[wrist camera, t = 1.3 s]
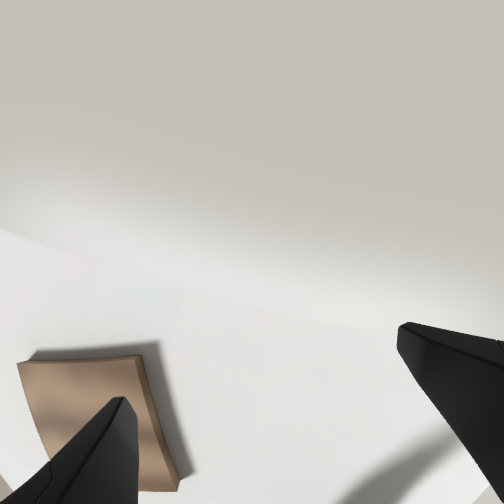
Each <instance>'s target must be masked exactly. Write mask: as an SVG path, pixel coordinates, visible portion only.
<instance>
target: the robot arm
mask: <svg viewBox="0 0 504 504" xmlns="http://www.w3.org/2000/svg"><path fill="white" fill-rule="evenodd" d="M397 350H398V352H399V354H400V356H401V357H402V359H403V360H404V362H405V364H406V365H407V367H408V368H409V370H410V372H411V373H412V375H413V377H414V378H415V380H416V381H417V383H418V384H419V386H420V387H421V388H422V390H423V391H424V392H425V394H426V395H427V396H428V397H429V399H430V400H431V401H432V403H433V404H434V405H435V407H436V408H437V409H438V411H439V412H440V413H441V415H442V416H443V417H444V419H445V420H446V421H447V423H448V424H449V425H450V427H451V428H452V430H453V431H454V432H455V434H456V435H457V436H458V438H459V439H460V441H461V442H462V443H463V445H464V446H465V448H466V449H467V450H468V452H469V453H470V455H471V456H472V458H473V459H474V460H475V462H476V463H477V464H478V467H479V468H480V469H481V471H482V472H483V474H484V475H485V477H486V478H487V480H488V481H489V483H490V484H491V486H492V487H493V489H494V491H495V492H496V494H497V495H498V497H499V498H500V500H501V501H502V502H503V503H504V341H500V340H497V341H496V340H495V339H489V338H484V337H479V336H473V335H469V334H464V333H459V332H454V331H449V330H445V329H440V328H436V327H431V326H426V325H421V324H417V323H413V322H407V323H405V324H402V325H401V326H399V328H398V336H397ZM138 479H139V440H138V418H137V415H136V413H135V411H134V409H133V408H132V406H131V404H130V403H129V401H128V399H127V398H126V397H125V396H117V397H113V398H112V399H111V400H110V401H109V402H108V403H107V404H106V405H105V406H104V407H103V408H102V409H101V410H100V411H99V412H98V413H97V414H96V415H95V416H94V417H93V418H92V419H91V420H90V421H89V422H88V423H87V424H86V425H85V426H84V427H83V428H82V429H81V430H80V431H79V432H78V433H77V434H75V435H74V436H73V437H72V438H71V439H70V440H69V441H68V442H67V443H66V444H65V445H64V446H63V447H62V448H61V449H60V450H59V451H58V452H57V453H56V454H55V455H54V456H53V457H52V458H51V459H50V461H48V462H47V463H46V464H45V465H44V466H43V467H42V468H41V469H40V470H39V471H38V472H37V473H36V474H35V475H34V476H33V477H31V478H30V479H29V480H28V481H27V482H25V483H24V484H23V485H22V486H20V487H19V488H18V489H17V490H15V491H14V492H13V493H12V494H11V495H9V496H8V497H6V499H4V500H3V501H1V502H0V504H138Z"/></svg>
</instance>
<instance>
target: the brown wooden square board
mask: <svg viewBox="0 0 504 504" xmlns="http://www.w3.org/2000/svg"><path fill="white" fill-rule="evenodd" d="M17 367H18V371H19V375H20V379H21V382H22V386H23V389H24V393H25V396H26V399H27V403H28V406H29V409H30V412H31V415H32V417H33V420H34V423H35V426H36V428H37V431H38V433H39V436H40V438H41V441H42V443H43V446H44V448H45V450H46V452H47V455H48V457H49V459H51V458H52V457H53V456H54V455H55V454H56V453H57V452H58V451H59V450H60V449H61V448H62V447H63V446H64V445H65V444H66V443H67V442H68V441H69V440H70V439H71V438H72V437H73V436H74V435H75V434H77V433H78V432H79V431H80V430H81V429H82V428H83V427H84V426H85V425H86V424H87V423H88V422H89V421H90V420H91V419H92V418H93V417H94V416H95V415H96V414H97V413H98V412H99V411H100V410H101V409H102V408H103V407H104V406H105V405H106V404H107V403H108V402H109V401H110V400H111V399H112V398H113V397H117V396H125V397H126V398H127V399H128V401H129V403H130V404H131V406H132V408H133V409H134V411H135V413H136V415H137V418H138V440H139V479H138V491H150V492H177V490H178V486H179V482H180V480H179V477H178V475H177V472H176V470H175V467H174V464H173V462H172V459H171V456H170V453H169V451H168V448H167V445H166V442H165V439H164V436H163V433H162V430H161V427H160V423H159V420H158V417H157V413H156V410H155V407H154V403H153V399H152V396H151V392H150V388H149V385H148V381H147V377H146V373H145V368H144V364H143V360H142V355H132V356H121V357H109V358H94V359H75V360H27V361H24V362H20V363H17Z"/></svg>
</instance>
